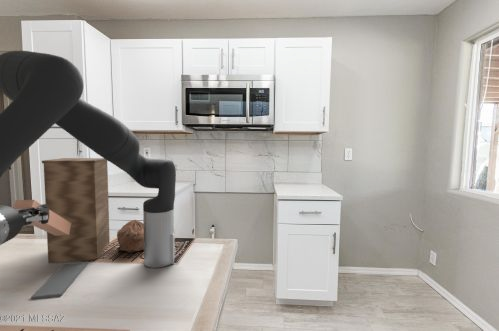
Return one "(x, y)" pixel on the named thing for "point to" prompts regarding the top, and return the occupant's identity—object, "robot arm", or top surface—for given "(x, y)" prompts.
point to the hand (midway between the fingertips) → (36, 208)
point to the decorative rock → (131, 236)
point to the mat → (60, 281)
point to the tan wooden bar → (54, 224)
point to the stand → (78, 207)
